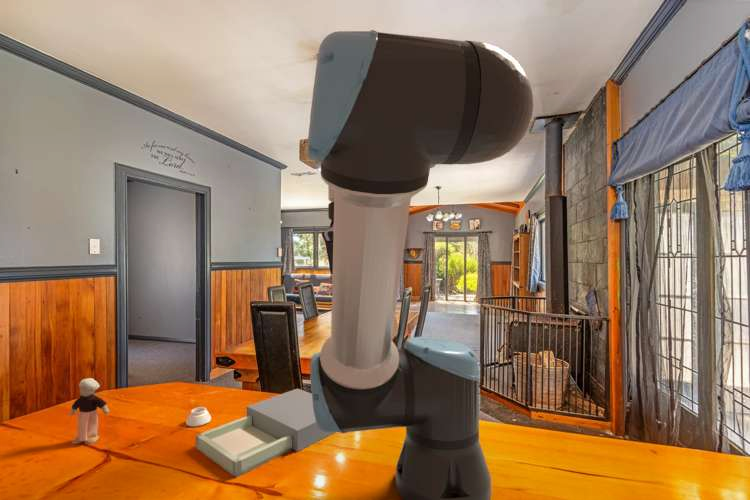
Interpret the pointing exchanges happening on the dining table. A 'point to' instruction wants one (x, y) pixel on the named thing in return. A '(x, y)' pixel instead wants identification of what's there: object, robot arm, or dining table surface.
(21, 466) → the dining table surface
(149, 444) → the dining table surface
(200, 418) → the white jar
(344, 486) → the dining table surface
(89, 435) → the grandmother figurine
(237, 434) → the card
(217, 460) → the tray
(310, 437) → the grey drawer casing
